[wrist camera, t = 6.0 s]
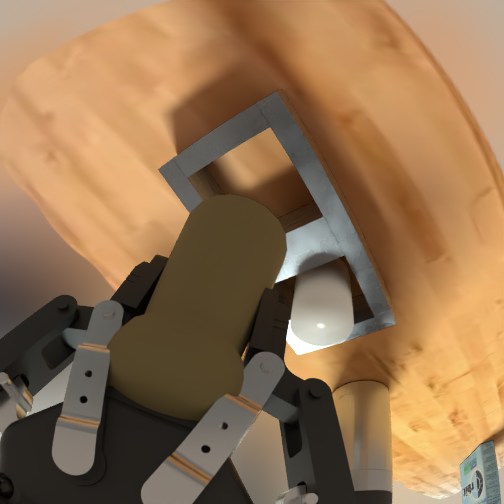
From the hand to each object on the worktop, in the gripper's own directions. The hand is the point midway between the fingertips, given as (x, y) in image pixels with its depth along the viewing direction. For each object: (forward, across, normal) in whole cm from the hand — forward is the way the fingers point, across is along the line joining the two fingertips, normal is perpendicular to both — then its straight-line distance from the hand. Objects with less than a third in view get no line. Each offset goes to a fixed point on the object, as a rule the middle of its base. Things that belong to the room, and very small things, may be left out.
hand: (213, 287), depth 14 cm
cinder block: (+15, -4, +4) cm, 16 cm away
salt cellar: (+15, -8, +9) cm, 19 cm away
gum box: (+15, -79, +55) cm, 98 cm away
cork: (+4, 0, 0) cm, 4 cm away
